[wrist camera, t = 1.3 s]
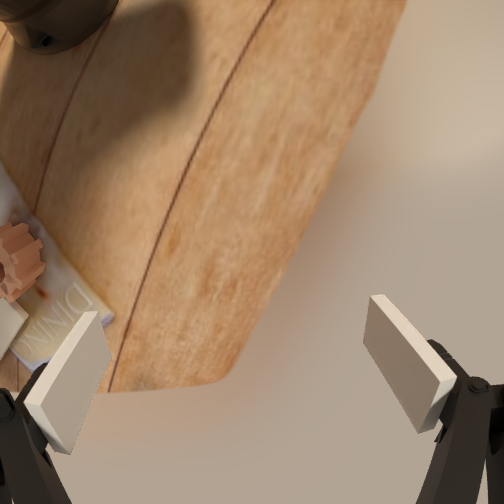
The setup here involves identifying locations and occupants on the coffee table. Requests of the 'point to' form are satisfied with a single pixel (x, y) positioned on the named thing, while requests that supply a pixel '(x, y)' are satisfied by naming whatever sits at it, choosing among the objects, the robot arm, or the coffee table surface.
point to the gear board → (10, 323)
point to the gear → (18, 260)
